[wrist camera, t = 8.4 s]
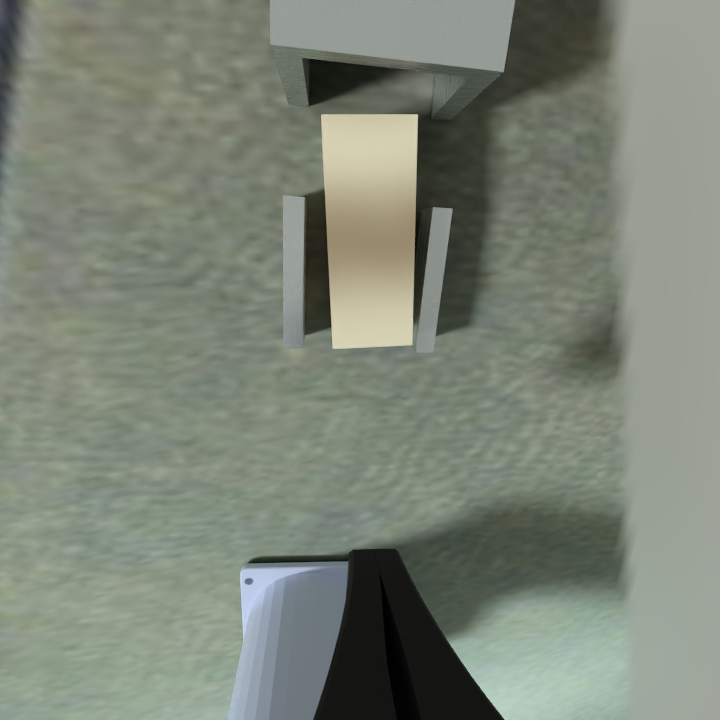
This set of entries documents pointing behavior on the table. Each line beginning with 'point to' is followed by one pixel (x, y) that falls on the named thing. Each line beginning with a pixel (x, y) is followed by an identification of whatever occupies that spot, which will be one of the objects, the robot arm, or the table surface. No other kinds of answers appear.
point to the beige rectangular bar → (370, 226)
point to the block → (395, 42)
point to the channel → (425, 273)
